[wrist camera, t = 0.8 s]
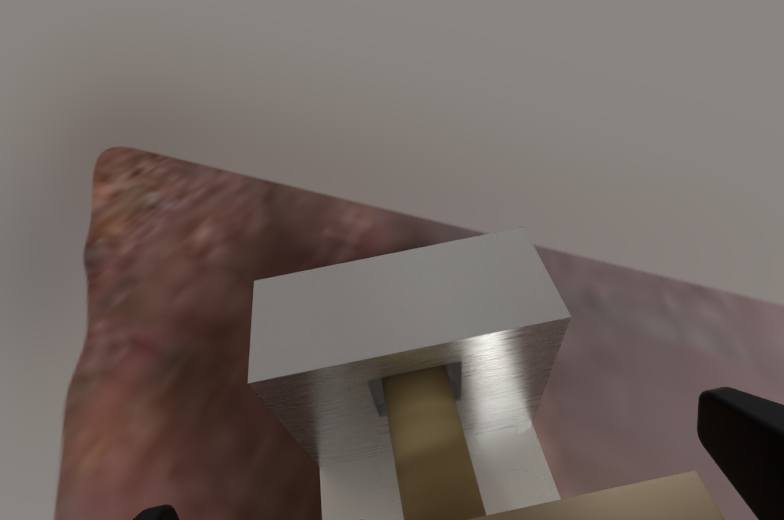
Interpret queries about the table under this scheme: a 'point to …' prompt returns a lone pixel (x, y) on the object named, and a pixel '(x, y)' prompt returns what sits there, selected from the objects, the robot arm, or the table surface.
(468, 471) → the shaft carriage
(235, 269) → the table surface
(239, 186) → the table surface
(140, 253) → the table surface
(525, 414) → the bearing block
